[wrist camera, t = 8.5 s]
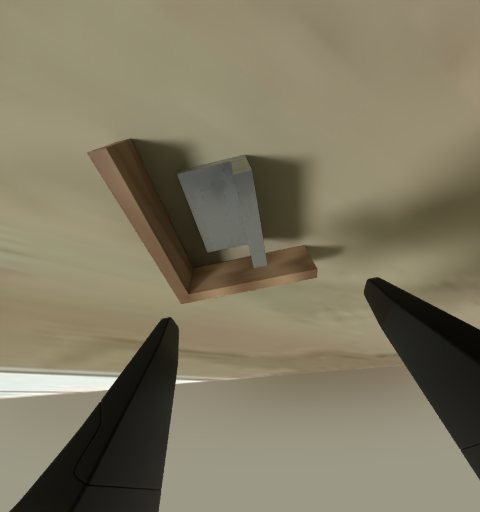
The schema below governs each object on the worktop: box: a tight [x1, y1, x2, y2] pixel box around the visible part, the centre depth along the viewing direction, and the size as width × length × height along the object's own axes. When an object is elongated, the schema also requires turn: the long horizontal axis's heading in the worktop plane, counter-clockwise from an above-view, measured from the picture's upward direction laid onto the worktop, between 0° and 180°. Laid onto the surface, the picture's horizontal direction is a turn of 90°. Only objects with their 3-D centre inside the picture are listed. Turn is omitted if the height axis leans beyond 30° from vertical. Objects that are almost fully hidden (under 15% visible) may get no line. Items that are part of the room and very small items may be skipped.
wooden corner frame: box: [87, 139, 317, 304], centre depth 17 cm, size 14×15×4 cm
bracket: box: [177, 155, 267, 268], centre depth 17 cm, size 8×6×5 cm
